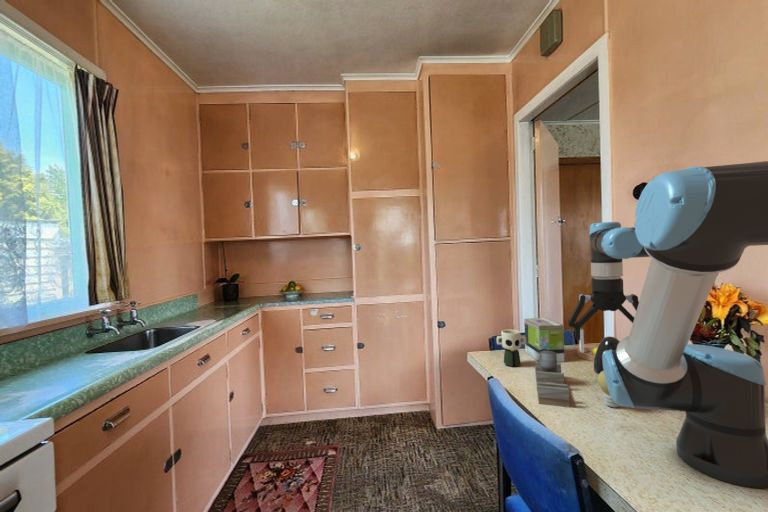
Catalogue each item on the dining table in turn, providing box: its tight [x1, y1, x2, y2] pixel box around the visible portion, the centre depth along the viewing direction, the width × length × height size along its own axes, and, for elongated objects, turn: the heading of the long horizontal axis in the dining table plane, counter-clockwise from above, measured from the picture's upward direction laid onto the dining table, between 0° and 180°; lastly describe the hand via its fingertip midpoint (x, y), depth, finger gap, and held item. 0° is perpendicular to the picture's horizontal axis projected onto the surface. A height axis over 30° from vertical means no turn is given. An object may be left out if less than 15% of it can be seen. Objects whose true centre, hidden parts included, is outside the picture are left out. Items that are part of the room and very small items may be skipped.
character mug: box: [496, 329, 526, 367], centre depth 135 cm, size 11×7×13 cm, turn 84°
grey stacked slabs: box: [534, 351, 571, 408], centre depth 111 cm, size 24×8×10 cm, turn 158°
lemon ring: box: [576, 345, 598, 362], centre depth 140 cm, size 14×14×2 cm
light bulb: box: [596, 371, 620, 408], centre depth 98 cm, size 6×6×10 cm
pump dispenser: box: [593, 336, 621, 378], centre depth 113 cm, size 10×10×15 cm
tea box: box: [523, 317, 565, 363], centre depth 142 cm, size 15×10×15 cm, turn 179°
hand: (609, 352), depth 98 cm, fingers open, 13 cm apart
